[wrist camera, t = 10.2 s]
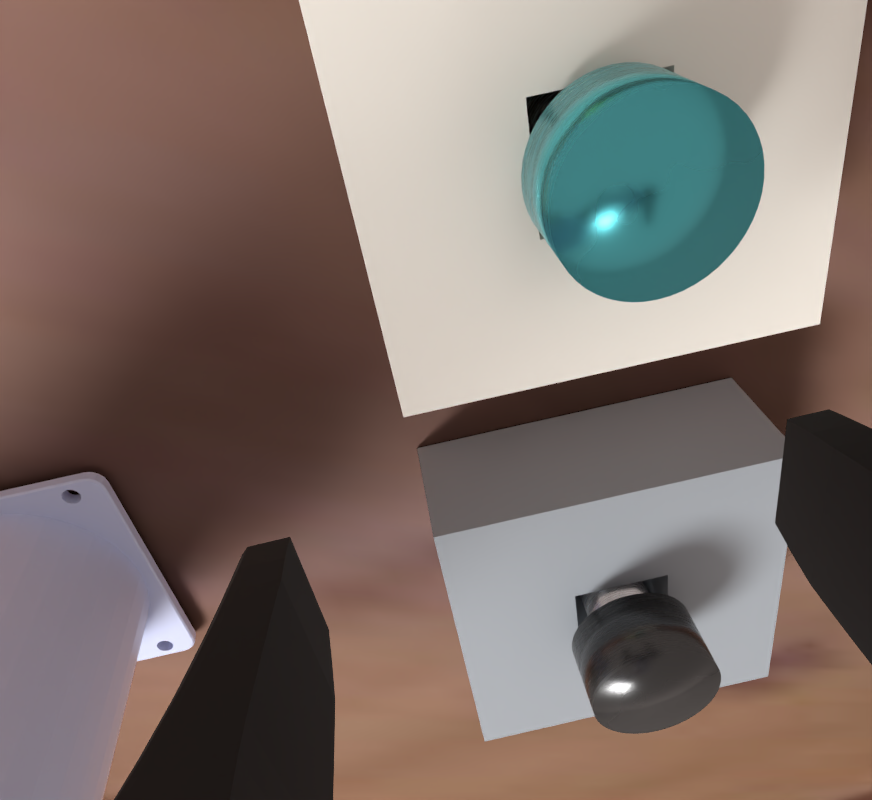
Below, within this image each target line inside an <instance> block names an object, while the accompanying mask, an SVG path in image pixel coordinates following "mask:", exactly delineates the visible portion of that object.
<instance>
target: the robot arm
mask: <svg viewBox="0 0 872 800" xmlns="http://www.w3.org/2000/svg"><path fill="white" fill-rule="evenodd" d="M67 490H74V491H77V492H78V493H79V494H80V495H74V494H71V493H69V492H68V491H67ZM775 524H776V526H777V528H778V529H779V531H780V533H781V535H782V536H783V538H784V540H785V542H786V544H787V545H788V547H789V549H790V551H791V553H792V554H793V556H794V558H795V559H796V561H797V563H798V564H799V566H800V568H801V569H802V571H803V573H804V574H805V576H806V578H807V579H808V581H809V583H810V584H811V586H812V587H813V588H814V590H815V591H816V592H817V594H818V595H819V596H820V598H821V599H822V601H823V602H824V603H825V604H826V606H827V607H828V608H829V610H830V611H831V612H832V614H833V615H834V616H835V618H836V619H837V620H838V622H839V623H840V624H841V626H842V627H843V628H844V629H845V631H846V632H847V633H848V635H849V636H850V637H851V639H852V640H853V641H854V642H855V644H856V645H857V646H858V648H859V649H860V650H861V652H862V653H863V654H864V655H865V657H866V658H867V659H868V661H869V662H870V663H871V664H872V429H871V428H869V427H867V426H865V425H863V424H860V423H858V422H856V421H854V420H852V419H850V418H847V417H845V416H843V415H841V414H838V413H836V412H834V411H831V410H825V411H821V412H816V413H812V414H808V415H804V416H799V417H795V418H791V419H787V425H786V434H785V442H784V451H783V459H782V468H781V476H780V484H779V493H778V501H777V510H776V518H775ZM195 637H196V633H195V630H194V628H193V627H192V625H191V623H190V621H189V620H188V618H187V616H186V615H185V613H184V611H183V609H182V608H181V606H180V604H179V603H178V601H177V599H176V597H175V596H174V594H173V592H172V590H171V589H170V587H169V585H168V584H167V582H166V580H165V578H164V577H163V575H162V573H161V571H160V570H159V568H158V566H157V565H156V563H155V561H154V559H153V558H152V556H151V554H150V553H149V551H148V549H147V547H146V546H145V544H144V542H143V540H142V539H141V537H140V535H139V534H138V532H137V530H136V528H135V527H134V525H133V523H132V521H131V520H130V518H129V516H128V515H127V513H126V511H125V509H124V508H123V506H122V504H121V502H120V501H119V499H118V497H117V496H116V494H115V492H114V490H113V489H112V487H111V485H110V484H109V482H108V481H107V479H106V478H105V477H104V476H102V475H100V474H98V473H94V472H83V473H79V474H74V475H70V476H66V477H61V478H57V479H52V480H48V481H43V482H39V483H34V484H30V485H25V486H21V487H16V488H12V489H7V490H3V491H0V800H103V796H104V792H105V788H106V784H107V780H108V776H109V772H110V768H111V764H112V760H113V756H114V751H115V747H116V743H117V739H118V735H119V731H120V727H121V723H122V719H123V715H124V711H125V707H126V703H127V699H128V695H129V691H130V687H131V683H132V679H133V674H134V670H135V666H136V662H137V661H140V660H145V659H149V658H154V657H158V656H162V655H167V654H171V653H176V652H180V651H184V650H187V649H189V648H191V647H192V646H193V645H194V642H195ZM334 730H335V693H334V681H333V669H332V658H331V648H330V638H329V629H328V627H327V624H326V622H325V620H324V617H323V615H322V612H321V610H320V608H319V605H318V603H317V601H316V598H315V596H314V593H313V591H312V589H311V586H310V584H309V581H308V579H307V577H306V574H305V572H304V569H303V567H302V565H301V562H300V560H299V557H298V555H297V553H296V550H295V548H294V546H293V543H292V541H291V538H290V537H288V538H284V539H279V540H275V541H271V542H267V543H263V544H258V545H254V546H250V547H247V549H246V550H245V552H244V553H243V554H242V556H241V559H240V561H239V563H238V565H237V568H236V570H235V572H234V574H233V577H232V579H231V581H230V583H229V586H228V588H227V590H226V592H225V594H224V597H223V599H222V601H221V603H220V605H219V607H218V610H217V612H216V614H215V616H214V618H213V620H212V622H211V624H210V626H209V629H208V631H207V633H206V635H205V637H204V639H203V641H202V643H201V645H200V647H199V649H198V651H197V653H196V655H195V657H194V659H193V661H192V663H191V665H190V667H189V669H188V671H187V673H186V674H185V676H184V678H183V680H182V682H181V684H180V686H179V688H178V690H177V692H176V694H175V696H174V698H173V699H172V701H171V703H170V705H169V707H168V708H167V710H166V712H165V714H164V715H163V717H162V719H161V721H160V723H159V724H158V726H157V728H156V730H155V731H154V733H153V735H152V737H151V738H150V740H149V742H148V744H147V745H146V747H145V749H144V751H143V753H142V754H141V756H140V758H139V760H138V761H137V763H136V765H135V766H134V768H133V770H132V771H131V773H130V774H129V776H128V778H127V779H126V781H125V783H124V784H123V786H122V788H121V789H120V791H119V792H118V794H117V796H116V797H115V799H114V800H333V776H334Z"/></svg>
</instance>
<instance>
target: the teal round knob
mask: <svg viewBox="0 0 872 800" xmlns="http://www.w3.org/2000/svg"><path fill="white" fill-rule="evenodd" d="M526 104H527V114H528V124H529V134H530V136H529V139H528V142H527V145H526V148H525V152H524V157H523V162H522V171H521V184H522V193H523V199H524V202H525V206H526V209H527V212H528V214H529V216H530V218H531V220H532V222H533V223H534V225H535V226H536V228H537V229H538V231H539V232H540V233H541V235H542V236H543V238H544V239H545V240H546V242H547V243H548V245H549V246H550V248H551V249H552V250H553V252H554V253H555V255H556V256H557V257H558V259H559V260H560V262H561V263H562V265H563V266H564V267H565V269H566V270H567V272H568V273H569V274H570V275H571V276H572V277H573V278H574V279H575V280H576V281H577V282H578V283H579V284H580V285H582V286H583V287H584V288H586V289H587V290H589V291H591V292H593V293H595V294H596V295H599V296H602V297H604V298H607V299H611V300H616V301H622V302H646V301H653V300H658V299H662V298H665V297H669V296H672V295H674V294H677V293H679V292H682V291H684V290H686V289H688V288H689V287H691V286H693V285H695V284H697V283H698V282H700V281H701V280H703V279H704V278H706V277H707V276H708V275H710V274H711V273H712V272H713V271H714V270H716V269H717V268H718V267H719V266H720V265H721V264H722V263H723V262H724V261H725V260H726V259H727V258H728V257H729V256H730V255H731V253H732V252H733V251H734V250H735V249H736V247H737V246H738V245H739V243H740V242H741V240H742V239H743V237H744V236H745V234H746V233H747V231H748V229H749V227H750V225H751V223H752V221H753V219H754V216H755V214H756V211H757V209H758V206H759V202H760V199H761V195H762V190H763V184H764V166H765V164H764V155H763V149H762V145H761V141H760V138H759V135H758V133H757V131H756V129H755V126H754V125H753V123H752V121H751V120H750V118H749V117H748V115H747V114H746V113H745V112H744V111H743V110H742V109H741V107H740V106H739V105H738V104H736V103H735V102H734V101H732V100H731V99H730V98H728V97H727V96H725V95H723V94H721V93H719V92H718V91H716V90H713V89H711V88H709V87H706V86H704V85H702V84H699V83H697V82H695V81H692V80H690V79H688V78H685V77H683V76H681V75H678V74H676V73H674V72H671V71H669V70H667V69H664V68H662V67H659V66H656V65H652V64H647V63H641V62H624V63H617V64H611V65H608V66H604V67H601V68H598V69H596V70H594V71H591V72H589V73H587V74H585V75H583V76H582V77H580V78H578V79H577V80H575V81H573V82H572V83H571V84H570V85H568V86H567V87H566V88H565V89H562V90H557V91H553V92H548V93H544V94H539V95H535V96H530V97H526Z"/></svg>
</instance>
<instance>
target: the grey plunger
mask: <svg viewBox="0 0 872 800" xmlns="http://www.w3.org/2000/svg"><path fill="white" fill-rule="evenodd" d="M580 598H581V600H582V603H583V606H584V608H585V611H586V613H587V616H588V617H586V618H585V620H584V621H583V622H582V623H581V624H580V625H579V627H578V628H577V630H576V632H575V634H574V637H573V640H572V651H573V655H574V658H575V661H576V663H577V666H578V669H579V672H580V675H581V678H582V681H583V684H584V687H585V689H586V692H587V695H588V698H589V701H590V704H591V707H592V710H593V713H594V715H595V717H596V719H597V720H598V722H599V723H600V724H602V725H603V726H605V727H606V728H608V729H611V730H613V731H617V732H621V733H633V734H635V733H648V732H653V731H658V730H662V729H666V728H668V727H671V726H674V725H676V724H679V723H681V722H683V721H685V720H687V719H689V718H690V717H692V716H694V715H695V714H697V713H698V712H699V711H701V710H702V709H703V708H704V707H705V706H707V705H708V704H709V702H710V701H711V700H712V699H713V698H714V696H715V695H716V693H717V691H718V689H719V687H720V683H721V673H720V670H719V668H718V666H717V664H716V662H715V661H714V659H713V657H712V655H711V653H710V651H709V649H708V647H707V646H706V644H705V642H704V640H703V638H702V636H701V634H700V632H699V631H698V629H697V627H696V625H695V623H694V621H693V619H692V617H691V616H690V614H689V612H688V610H687V608H686V607H685V606H684V604H683V603H681V602H680V601H679V600H677V599H675V598H674V597H671V596H668V595H664V594H659V593H648V591H647V589H646V587H645V585H644V583H643V581H640V582H635V583H631V584H626V585H622V586H618V587H613V588H609V589H604V590H600V591H596V592H591V593H587V594H582V595H580Z"/></svg>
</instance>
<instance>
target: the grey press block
mask: <svg viewBox="0 0 872 800" xmlns="http://www.w3.org/2000/svg"><path fill="white" fill-rule="evenodd" d="M784 442H785V436H784V435H783V434H782V433H781V432H780V431H779V430H778V429H777V428H776V427H775V425H774V424H773V423H772V422H771V421H770V420H769V419H768V418H767V417H766V415H765V414H764V413H763V412H762V411H761V410H760V409H759V408H758V407H757V405H756V404H755V403H754V402H753V401H752V400H751V399H750V398H749V397H748V395H747V394H746V393H745V392H744V391H743V390H742V389H741V388H740V387H739V385H738V384H737V383H736V382H735V381H734V380H733V379H732V378H728V379H723V380H719V381H714V382H710V383H705V384H701V385H696V386H692V387H687V388H683V389H679V390H674V391H670V392H665V393H661V394H656V395H652V396H647V397H643V398H639V399H634V400H630V401H625V402H621V403H616V404H612V405H607V406H603V407H598V408H594V409H590V410H585V411H581V412H576V413H572V414H567V415H563V416H558V417H554V418H550V419H545V420H541V421H536V422H532V423H527V424H523V425H518V426H514V427H509V428H505V429H501V430H496V431H492V432H487V433H483V434H478V435H474V436H469V437H465V438H461V439H456V440H452V441H447V442H443V443H438V444H434V445H429V446H425V447H420V448H417V450H418V456H419V461H420V466H421V472H422V477H423V483H424V488H425V493H426V499H427V504H428V510H429V515H430V520H431V526H432V531H433V537H434V541H435V545H436V549H437V553H438V557H439V561H440V565H441V569H442V573H443V577H444V581H445V585H446V589H447V593H448V597H449V601H450V605H451V609H452V613H453V617H454V621H455V625H456V629H457V633H458V636H459V640H460V644H461V648H462V652H463V656H464V660H465V664H466V668H467V672H468V676H469V680H470V684H471V688H472V692H473V696H474V700H475V704H476V708H477V712H478V716H479V720H480V724H481V728H482V732H483V736H484V740H485V741H489V740H493V739H497V738H502V737H506V736H511V735H515V734H519V733H524V732H528V731H532V730H537V729H541V728H545V727H550V726H554V725H558V724H563V723H567V722H571V721H576V720H580V719H584V718H589V717H593V716H595V715H594V713H593V710H592V707H591V704H590V701H589V698H588V695H587V692H586V689H585V687H584V684H583V681H582V678H581V675H580V672H579V669H578V666H577V663H576V661H575V658H574V655H573V651H572V640H573V637H574V634H575V632H576V630H577V628H578V627H579V625H580V624H581V623H582V622H583V621H584V620H585V618H586V617H588V616H587V613H586V611H585V608H584V606H583V603H582V600H581V598H580V595H582V594H587V593H591V592H596V591H600V590H604V589H609V588H613V587H618V586H622V585H626V584H631V583H635V582H640V581H643V583H644V585H645V587H646V589H647V591H648V593H659V594H664V595H668V596H671V597H674V598H675V599H677V600H679V601H680V602H681V603H683V604H684V606H685V607H686V608H687V610H688V612H689V614H690V616H691V617H692V619H693V621H694V623H695V625H696V627H697V629H698V631H699V632H700V634H701V636H702V638H703V640H704V642H705V644H706V646H707V647H708V649H709V651H710V653H711V655H712V657H713V659H714V661H715V662H716V664H717V666H718V668H719V670H720V673H721V683H720V687H723V686H728V685H732V684H736V683H741V682H745V681H750V680H754V679H758V678H763V677H767V676H768V673H769V666H770V659H771V652H772V645H773V639H774V632H775V625H776V618H777V611H778V605H779V598H780V591H781V584H782V578H783V571H784V564H785V557H786V550H787V544H786V542H785V540H784V538H783V536H782V535H781V533H780V531H779V529H778V528H777V526H776V524H775V518H776V510H777V501H778V493H779V484H780V476H781V468H782V459H783V451H784Z"/></svg>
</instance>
